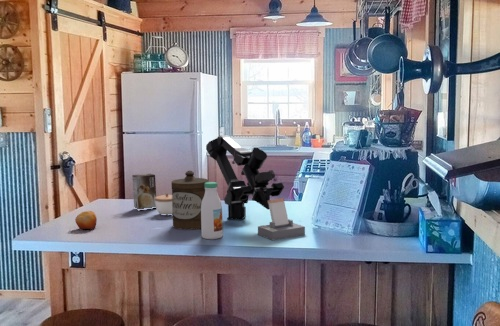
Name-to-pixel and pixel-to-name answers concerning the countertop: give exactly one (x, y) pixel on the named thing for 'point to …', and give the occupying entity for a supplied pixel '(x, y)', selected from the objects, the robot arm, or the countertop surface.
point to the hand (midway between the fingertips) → (269, 208)
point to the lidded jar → (164, 204)
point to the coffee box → (144, 191)
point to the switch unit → (281, 230)
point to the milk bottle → (211, 213)
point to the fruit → (86, 220)
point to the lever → (278, 212)
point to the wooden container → (187, 201)
